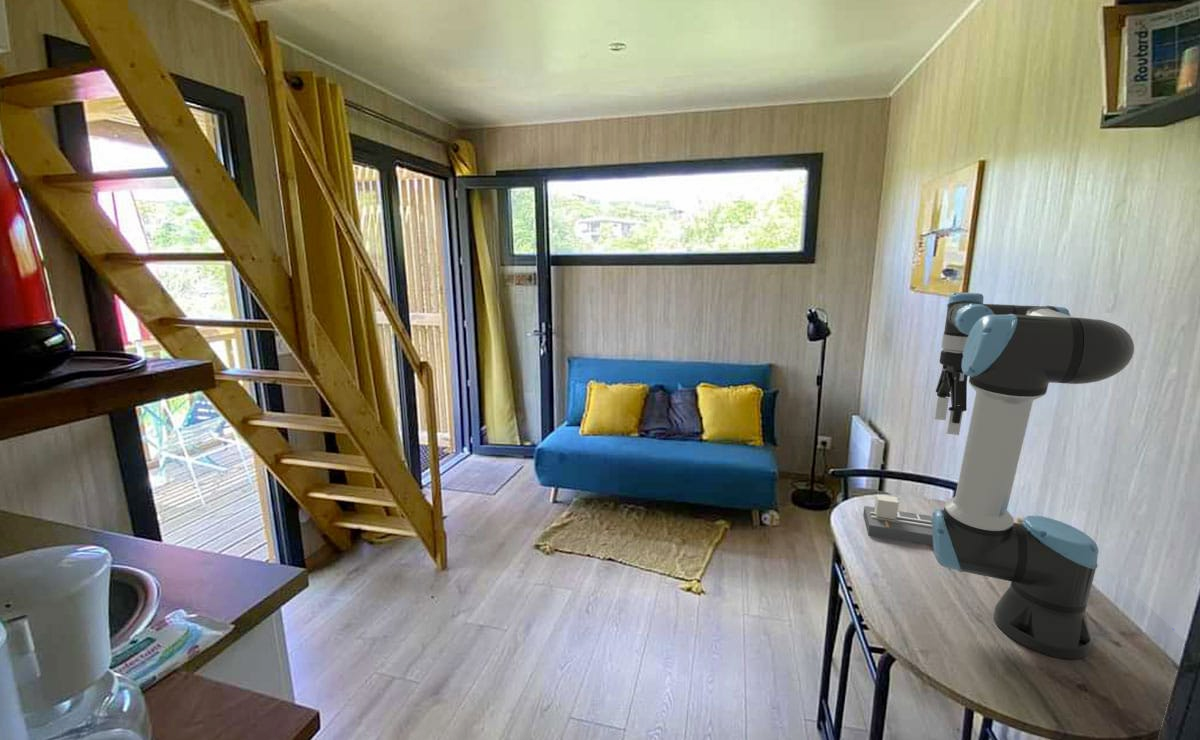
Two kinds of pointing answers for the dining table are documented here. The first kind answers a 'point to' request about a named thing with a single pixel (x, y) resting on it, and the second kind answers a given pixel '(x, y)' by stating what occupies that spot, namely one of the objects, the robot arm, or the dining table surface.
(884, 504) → the fader knob
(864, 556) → the dining table surface
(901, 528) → the fader console
